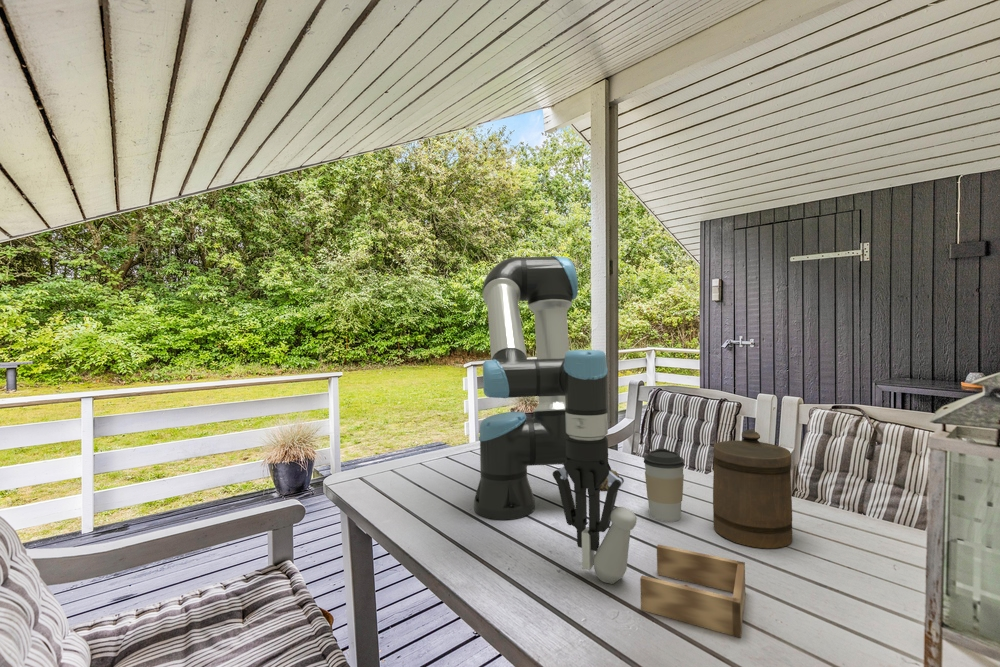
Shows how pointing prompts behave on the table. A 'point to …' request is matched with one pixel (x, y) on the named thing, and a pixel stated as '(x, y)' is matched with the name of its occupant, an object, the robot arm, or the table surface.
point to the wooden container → (752, 492)
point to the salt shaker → (615, 546)
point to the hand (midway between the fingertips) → (588, 566)
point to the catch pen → (696, 590)
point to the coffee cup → (664, 484)
